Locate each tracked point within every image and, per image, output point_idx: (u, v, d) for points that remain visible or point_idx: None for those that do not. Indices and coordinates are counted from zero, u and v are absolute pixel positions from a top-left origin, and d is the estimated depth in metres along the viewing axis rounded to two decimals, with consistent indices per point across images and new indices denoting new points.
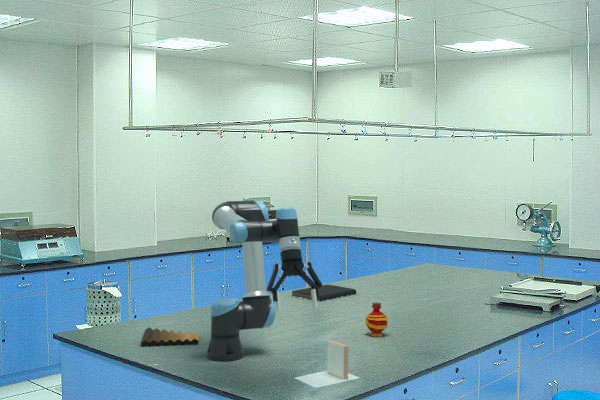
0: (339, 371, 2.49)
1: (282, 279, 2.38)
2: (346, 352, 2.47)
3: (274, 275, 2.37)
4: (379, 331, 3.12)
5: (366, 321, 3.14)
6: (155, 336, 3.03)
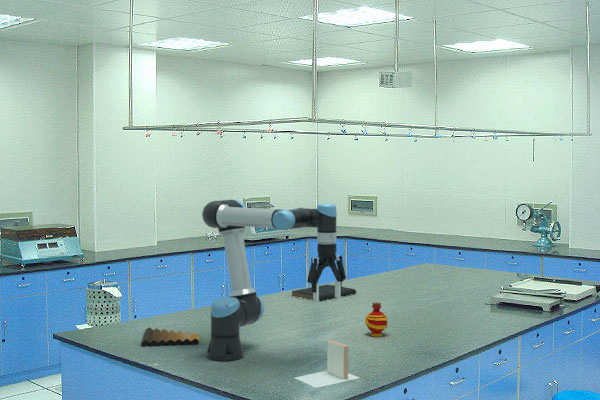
0: (339, 371, 2.49)
1: (320, 272, 2.65)
2: (346, 352, 2.47)
3: (314, 269, 2.63)
4: (379, 331, 3.12)
5: (366, 321, 3.14)
6: (155, 336, 3.04)
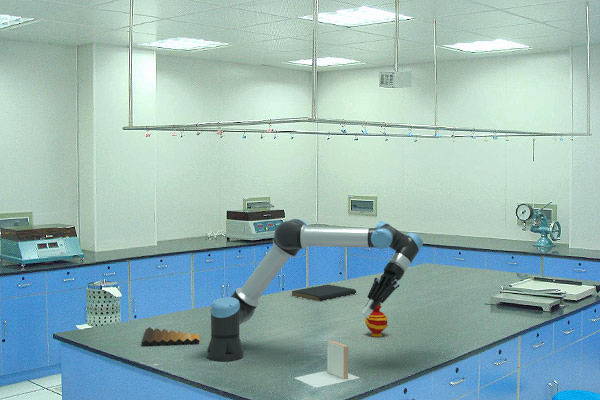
0: (339, 371, 2.49)
1: None
2: (346, 352, 2.47)
3: None
4: (379, 331, 3.12)
5: (366, 321, 3.14)
6: (156, 336, 3.04)
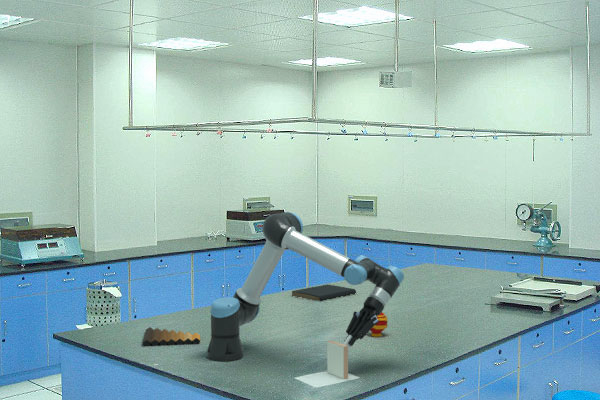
0: (339, 371, 2.49)
1: None
2: (346, 352, 2.47)
3: None
4: (379, 331, 3.12)
5: None
6: (156, 336, 3.04)
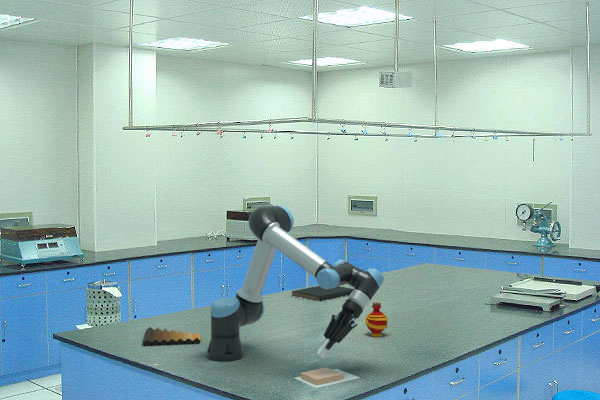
0: None
1: None
2: (322, 380, 2.41)
3: None
4: (379, 331, 3.12)
5: (366, 321, 3.14)
6: (157, 336, 3.04)
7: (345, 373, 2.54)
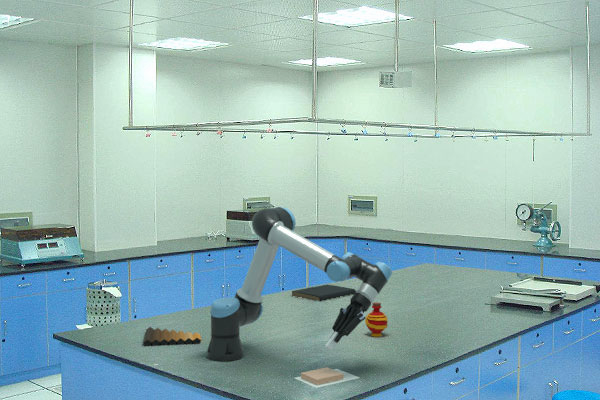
0: None
1: None
2: (322, 380, 2.41)
3: None
4: (379, 331, 3.12)
5: (366, 321, 3.14)
6: (157, 335, 3.04)
7: (345, 373, 2.54)
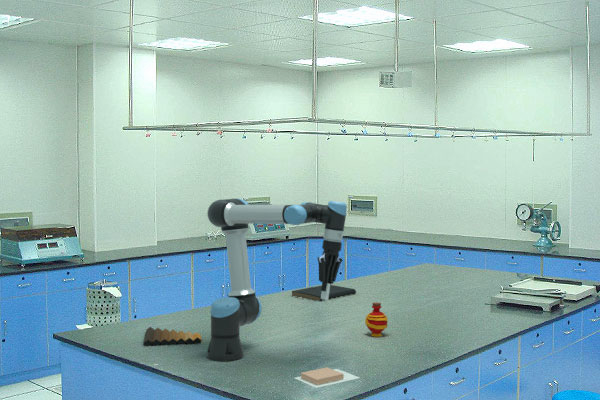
0: None
1: (328, 270, 2.67)
2: (322, 380, 2.41)
3: (323, 268, 2.65)
4: (379, 331, 3.12)
5: (366, 321, 3.14)
6: (157, 335, 3.05)
7: (345, 373, 2.54)
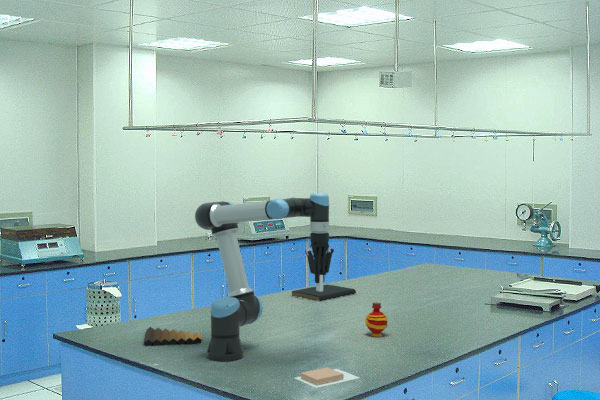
0: None
1: (319, 262, 2.69)
2: (322, 380, 2.41)
3: (312, 260, 2.68)
4: (379, 331, 3.12)
5: (366, 321, 3.14)
6: (158, 335, 3.05)
7: (345, 373, 2.54)
